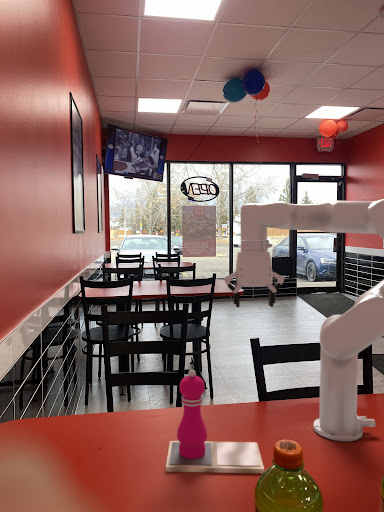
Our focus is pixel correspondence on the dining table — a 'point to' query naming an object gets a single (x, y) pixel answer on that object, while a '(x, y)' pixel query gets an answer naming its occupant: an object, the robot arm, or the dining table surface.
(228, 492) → the dining table surface
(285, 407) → the dining table surface
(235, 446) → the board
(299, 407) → the dining table surface
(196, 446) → the pepper mill
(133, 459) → the dining table surface
